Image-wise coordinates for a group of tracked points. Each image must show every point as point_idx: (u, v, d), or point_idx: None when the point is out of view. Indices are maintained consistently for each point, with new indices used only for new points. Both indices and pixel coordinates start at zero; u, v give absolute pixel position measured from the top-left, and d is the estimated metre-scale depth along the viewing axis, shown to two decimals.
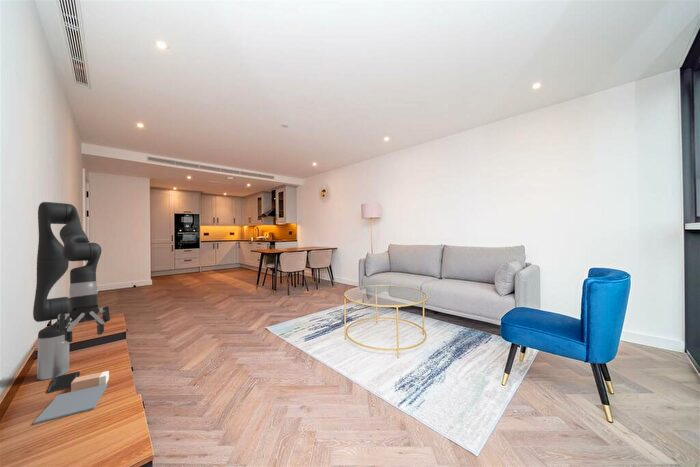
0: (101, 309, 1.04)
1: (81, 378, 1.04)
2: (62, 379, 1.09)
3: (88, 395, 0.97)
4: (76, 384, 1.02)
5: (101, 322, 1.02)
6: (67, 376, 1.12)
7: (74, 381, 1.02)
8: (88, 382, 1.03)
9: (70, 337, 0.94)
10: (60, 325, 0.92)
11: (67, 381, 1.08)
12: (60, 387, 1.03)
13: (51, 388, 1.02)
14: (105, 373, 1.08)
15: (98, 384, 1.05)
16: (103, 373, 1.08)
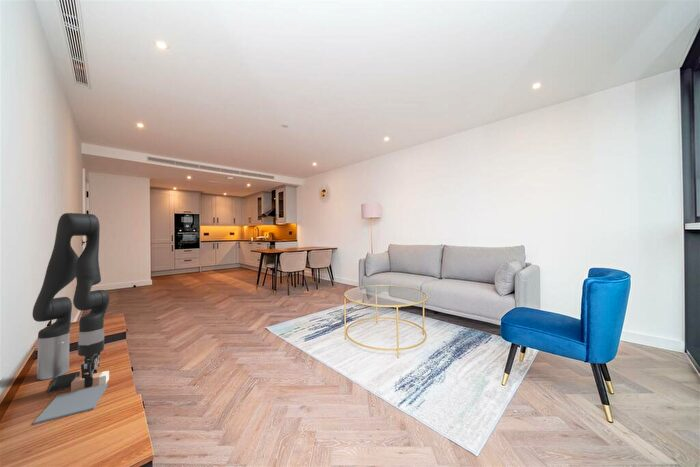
0: (96, 354, 1.10)
1: (81, 378, 1.04)
2: (62, 379, 1.09)
3: (88, 395, 0.97)
4: (76, 384, 1.02)
5: (97, 368, 1.09)
6: (67, 376, 1.12)
7: (74, 381, 1.02)
8: None
9: (92, 381, 1.04)
10: (90, 372, 1.01)
11: (67, 381, 1.08)
12: (60, 387, 1.03)
13: (51, 388, 1.02)
14: (105, 373, 1.08)
15: (98, 384, 1.05)
16: (103, 373, 1.08)
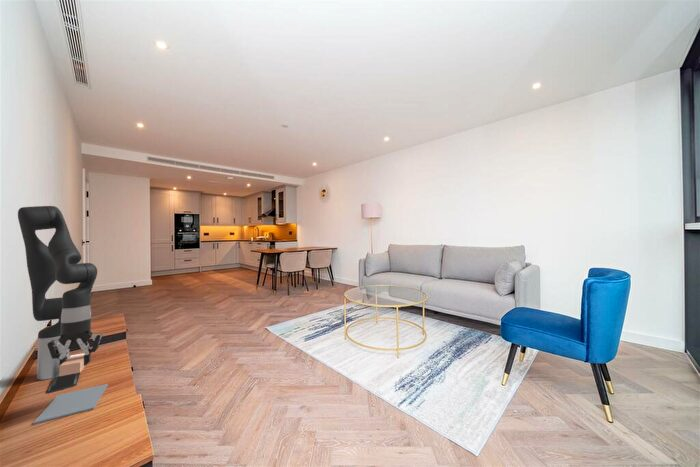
0: None
1: (72, 361, 0.92)
2: (62, 379, 1.10)
3: (88, 395, 0.97)
4: (81, 363, 0.93)
5: None
6: (67, 376, 1.12)
7: (77, 362, 0.91)
8: None
9: None
10: None
11: (67, 381, 1.08)
12: (60, 387, 1.03)
13: (51, 388, 1.02)
14: (79, 354, 0.98)
15: None
16: (76, 355, 0.97)
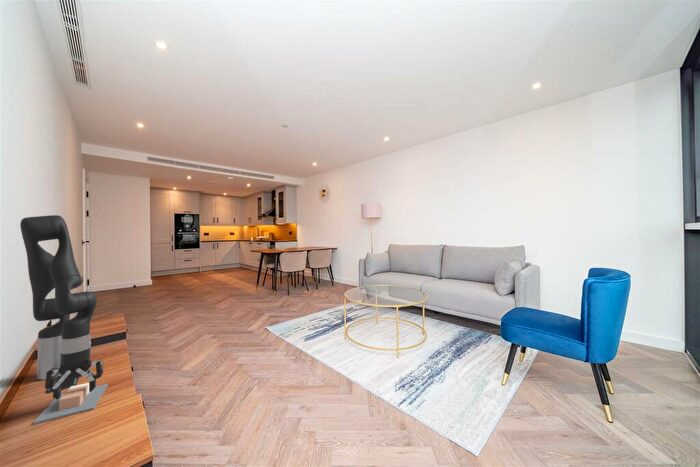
0: None
1: (72, 394, 0.92)
2: None
3: (88, 395, 0.97)
4: (81, 396, 0.92)
5: None
6: None
7: (76, 395, 0.91)
8: (84, 392, 0.95)
9: None
10: None
11: (67, 381, 1.08)
12: None
13: (51, 388, 1.02)
14: (79, 385, 0.98)
15: (87, 392, 0.98)
16: (76, 386, 0.97)
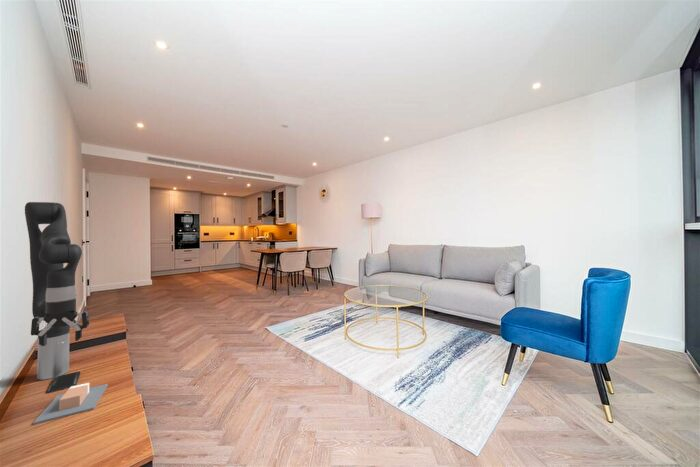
0: None
1: (72, 394, 0.92)
2: (62, 379, 1.10)
3: (88, 395, 0.97)
4: (81, 396, 0.92)
5: None
6: (67, 376, 1.12)
7: (76, 395, 0.91)
8: (84, 392, 0.95)
9: None
10: None
11: (67, 381, 1.08)
12: (60, 387, 1.03)
13: (51, 388, 1.02)
14: (79, 385, 0.98)
15: (87, 392, 0.98)
16: (76, 386, 0.97)
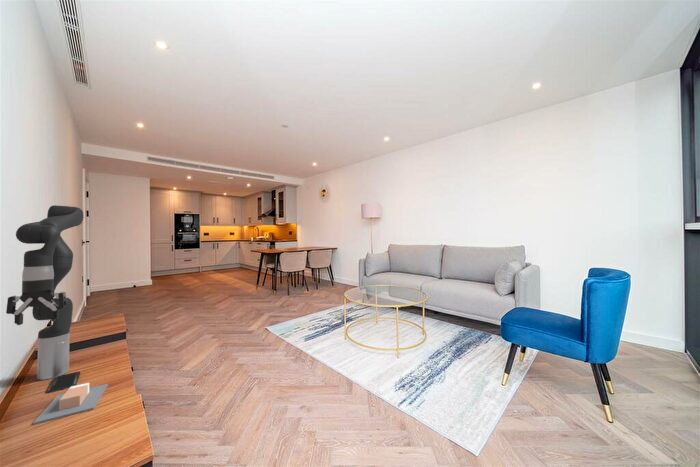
0: None
1: (72, 394, 0.92)
2: (62, 379, 1.10)
3: (88, 395, 0.97)
4: (81, 396, 0.92)
5: None
6: (67, 376, 1.12)
7: (76, 395, 0.91)
8: (84, 392, 0.95)
9: None
10: None
11: (67, 381, 1.08)
12: (60, 387, 1.03)
13: (51, 388, 1.02)
14: (79, 385, 0.98)
15: (87, 392, 0.98)
16: (76, 386, 0.97)
